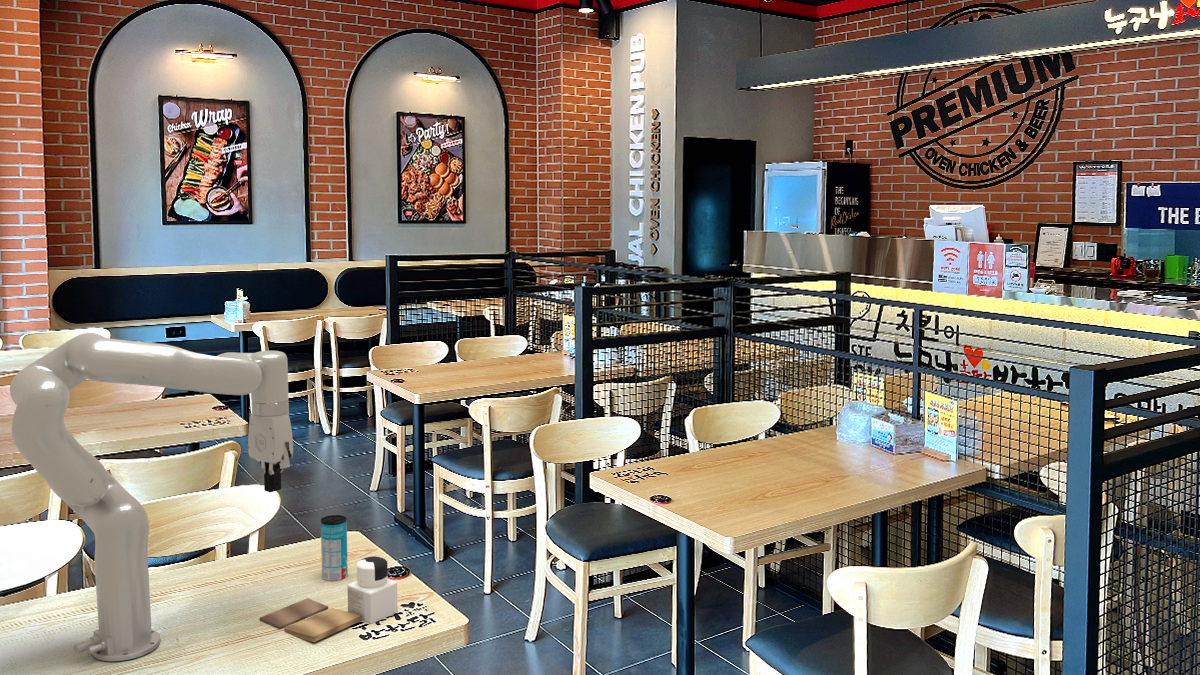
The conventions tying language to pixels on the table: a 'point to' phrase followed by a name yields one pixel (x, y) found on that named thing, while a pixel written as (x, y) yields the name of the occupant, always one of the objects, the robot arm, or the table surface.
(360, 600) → the container
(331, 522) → the beverage can
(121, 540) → the robot arm
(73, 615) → the table surface
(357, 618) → the oak plank
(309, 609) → the laid walnut plank
